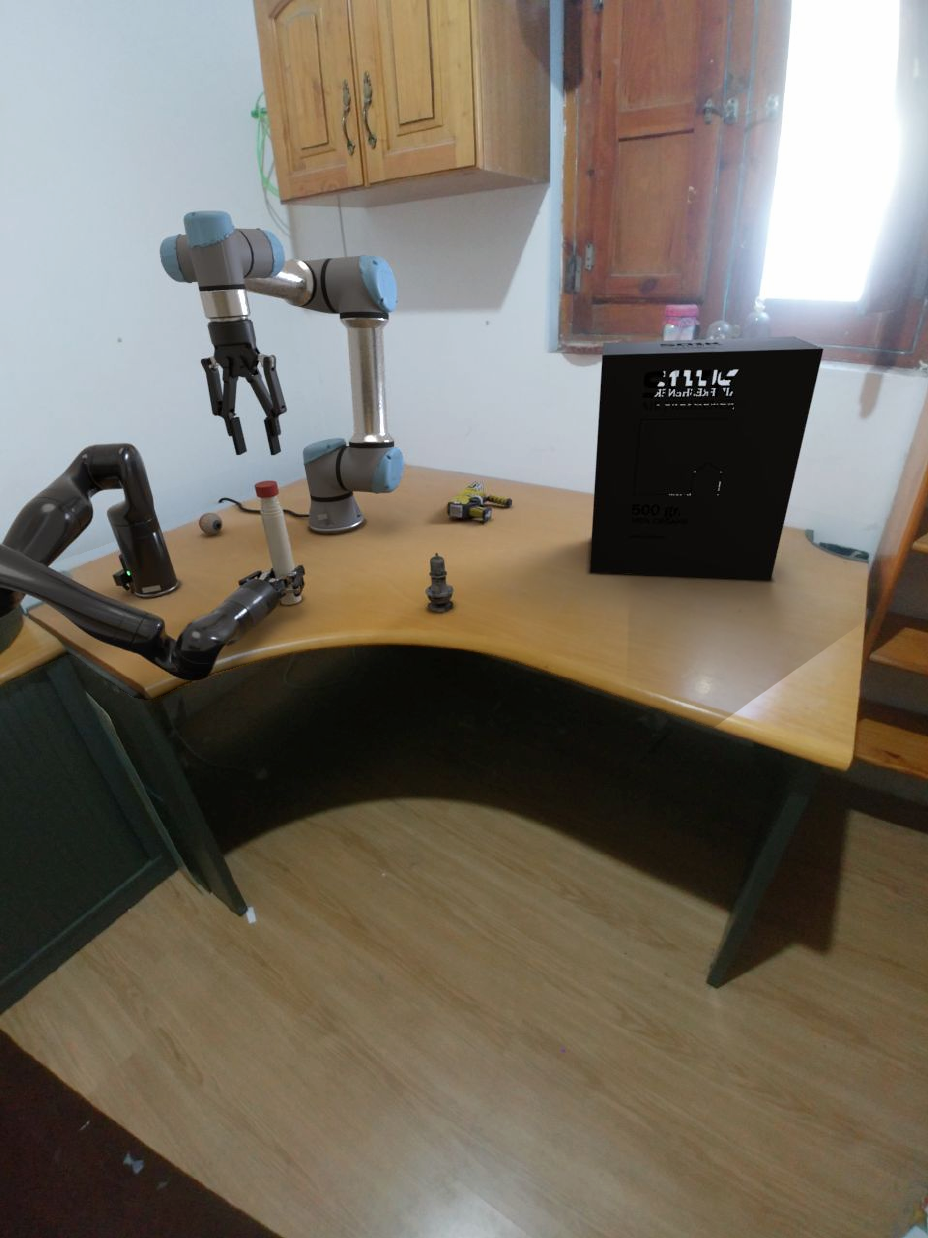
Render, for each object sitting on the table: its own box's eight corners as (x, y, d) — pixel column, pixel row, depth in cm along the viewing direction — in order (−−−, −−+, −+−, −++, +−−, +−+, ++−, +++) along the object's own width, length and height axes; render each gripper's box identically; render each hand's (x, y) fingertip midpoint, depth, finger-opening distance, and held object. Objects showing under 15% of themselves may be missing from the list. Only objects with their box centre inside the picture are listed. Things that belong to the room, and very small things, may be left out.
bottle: (287, 594, 134) (262, 481, 121) (305, 596, 132) (281, 482, 120) (277, 604, 130) (249, 488, 117) (295, 605, 129) (269, 489, 116)
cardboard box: (751, 542, 144) (793, 336, 122) (770, 580, 127) (823, 348, 105) (591, 537, 152) (603, 342, 130) (589, 572, 135) (602, 354, 112)
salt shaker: (451, 613, 122) (447, 559, 116) (423, 611, 123) (418, 558, 117) (457, 599, 127) (454, 547, 121) (430, 598, 128) (425, 546, 122)
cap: (264, 490, 122) (262, 480, 121) (283, 491, 121) (280, 480, 119) (252, 497, 118) (250, 486, 117) (271, 498, 117) (269, 487, 116)
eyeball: (212, 539, 164) (206, 518, 161) (197, 535, 167) (191, 515, 164) (230, 531, 169) (224, 511, 166) (215, 528, 172) (210, 508, 169)
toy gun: (520, 486, 181) (473, 479, 185) (498, 510, 161) (445, 501, 165) (519, 501, 183) (472, 494, 187) (496, 526, 163) (445, 518, 167)
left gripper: (221, 619, 120) (266, 581, 134) (286, 625, 116) (324, 585, 131) (211, 585, 116) (258, 550, 130) (278, 591, 113) (318, 553, 127)
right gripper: (291, 315, 105) (314, 448, 116) (191, 319, 109) (223, 448, 120) (270, 318, 99) (297, 458, 110) (166, 323, 103) (202, 458, 114)
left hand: (291, 568), depth 130 cm, fingers closed on bottle, 4 cm apart
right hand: (258, 453), depth 115 cm, fingers open, 7 cm apart
